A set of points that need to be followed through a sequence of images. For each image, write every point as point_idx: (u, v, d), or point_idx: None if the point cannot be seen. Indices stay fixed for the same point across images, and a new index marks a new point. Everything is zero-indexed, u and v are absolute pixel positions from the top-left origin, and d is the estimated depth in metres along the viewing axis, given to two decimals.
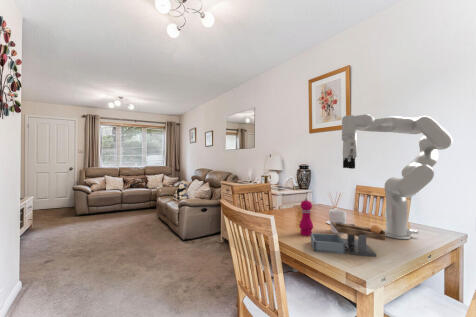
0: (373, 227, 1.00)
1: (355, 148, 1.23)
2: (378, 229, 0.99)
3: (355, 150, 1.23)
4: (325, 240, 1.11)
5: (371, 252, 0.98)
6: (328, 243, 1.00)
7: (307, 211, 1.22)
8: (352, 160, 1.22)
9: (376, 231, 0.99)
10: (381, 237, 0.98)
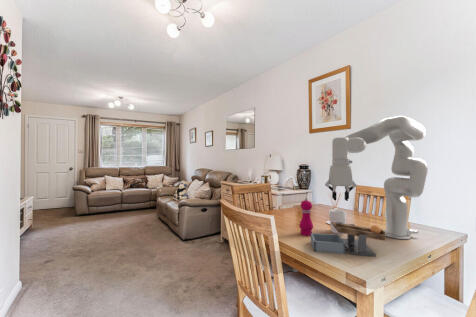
0: (373, 227, 1.00)
1: None
2: (378, 229, 0.99)
3: None
4: (325, 240, 1.11)
5: (371, 252, 0.98)
6: (328, 243, 1.00)
7: (307, 211, 1.22)
8: None
9: (376, 231, 0.99)
10: (381, 237, 0.98)
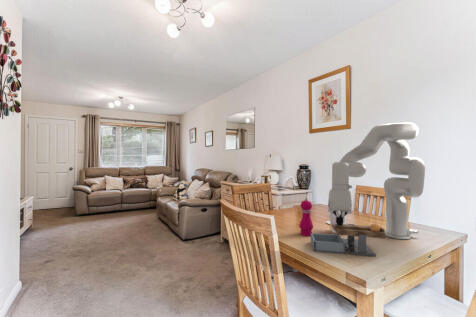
0: (372, 226, 1.01)
1: None
2: (377, 227, 0.99)
3: None
4: (325, 240, 1.11)
5: (371, 252, 0.98)
6: (328, 243, 1.00)
7: (307, 211, 1.22)
8: None
9: (375, 229, 0.99)
10: (381, 235, 0.98)
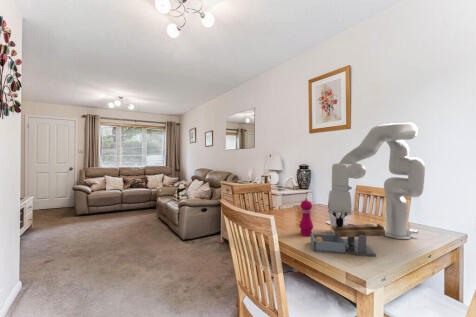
0: (317, 238, 1.05)
1: None
2: None
3: None
4: (325, 240, 1.11)
5: (371, 252, 0.98)
6: (328, 243, 1.00)
7: (307, 211, 1.22)
8: None
9: None
10: (381, 233, 0.98)
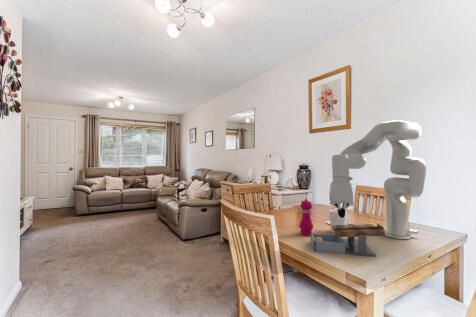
0: (317, 238, 1.05)
1: None
2: None
3: None
4: (325, 240, 1.11)
5: (371, 252, 0.98)
6: (328, 243, 1.00)
7: (307, 211, 1.22)
8: None
9: None
10: (381, 233, 0.98)
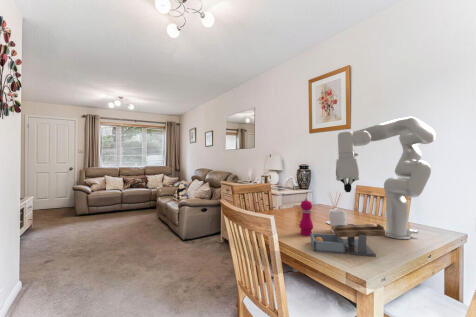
0: (317, 238, 1.05)
1: None
2: None
3: None
4: (325, 240, 1.11)
5: (371, 252, 0.98)
6: (328, 243, 1.00)
7: (307, 211, 1.22)
8: (350, 184, 1.16)
9: None
10: (381, 233, 0.98)
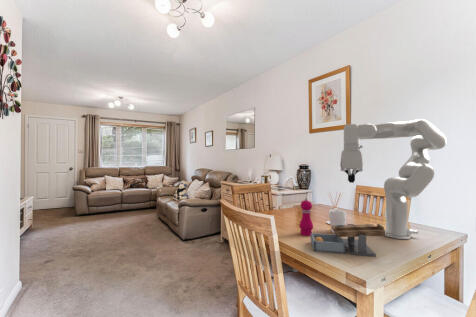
0: (317, 238, 1.05)
1: None
2: None
3: None
4: (325, 240, 1.11)
5: (371, 252, 0.98)
6: (328, 243, 1.00)
7: (307, 211, 1.22)
8: None
9: None
10: (381, 233, 0.98)
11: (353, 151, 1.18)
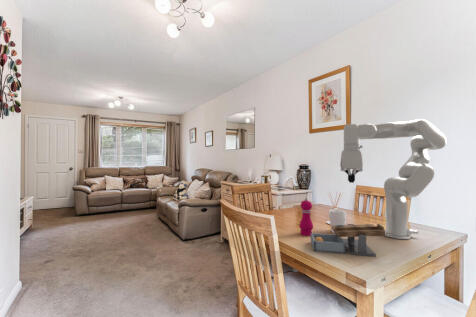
0: (317, 238, 1.05)
1: None
2: None
3: None
4: (325, 240, 1.11)
5: (371, 252, 0.98)
6: (328, 243, 1.00)
7: (307, 211, 1.22)
8: None
9: None
10: (381, 233, 0.98)
11: (353, 151, 1.18)
